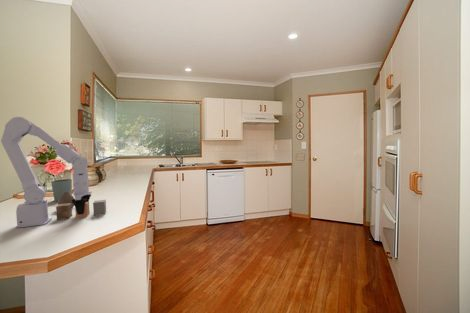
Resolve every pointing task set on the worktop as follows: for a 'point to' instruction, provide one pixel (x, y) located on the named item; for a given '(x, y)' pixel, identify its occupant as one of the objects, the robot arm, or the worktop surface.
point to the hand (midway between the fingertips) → (82, 212)
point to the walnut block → (64, 211)
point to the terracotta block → (86, 211)
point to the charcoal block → (99, 207)
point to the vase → (66, 199)
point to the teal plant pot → (61, 187)
